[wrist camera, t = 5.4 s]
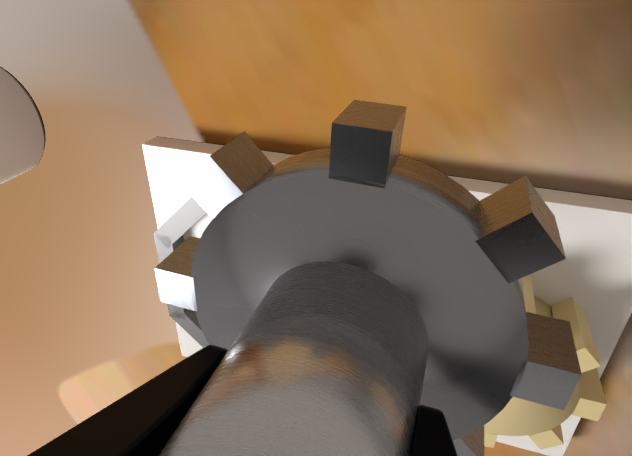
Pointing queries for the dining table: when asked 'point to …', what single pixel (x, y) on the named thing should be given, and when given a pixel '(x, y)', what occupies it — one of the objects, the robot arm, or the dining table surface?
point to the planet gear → (361, 298)
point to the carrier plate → (539, 287)
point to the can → (18, 129)
